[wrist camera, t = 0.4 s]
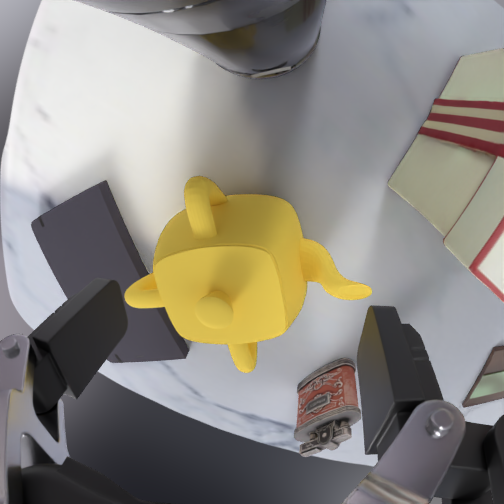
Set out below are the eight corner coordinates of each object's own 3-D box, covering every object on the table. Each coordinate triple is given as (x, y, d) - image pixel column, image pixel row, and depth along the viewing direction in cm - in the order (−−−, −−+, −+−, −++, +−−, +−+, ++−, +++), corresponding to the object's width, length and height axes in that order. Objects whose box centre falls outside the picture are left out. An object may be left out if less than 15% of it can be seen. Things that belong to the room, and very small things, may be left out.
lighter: (343, 353, 32) (350, 428, 23) (360, 367, 32) (369, 439, 23) (291, 385, 35) (284, 454, 26) (309, 397, 36) (306, 464, 27)
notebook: (189, 350, 35) (106, 179, 27) (185, 359, 33) (97, 183, 25) (114, 355, 38) (37, 218, 30) (109, 363, 37) (29, 222, 29)
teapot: (232, 136, 24) (189, 153, 14) (352, 231, 26) (376, 298, 16) (155, 253, 30) (100, 313, 20) (258, 325, 31) (240, 403, 22)
